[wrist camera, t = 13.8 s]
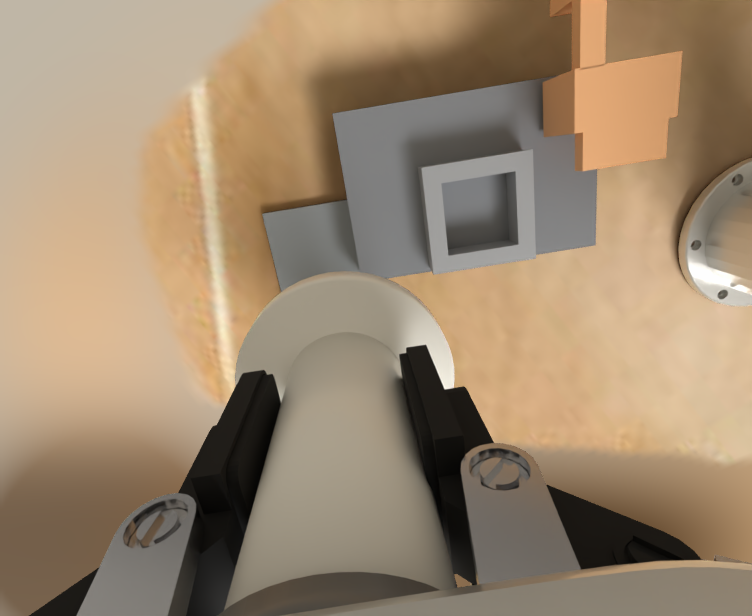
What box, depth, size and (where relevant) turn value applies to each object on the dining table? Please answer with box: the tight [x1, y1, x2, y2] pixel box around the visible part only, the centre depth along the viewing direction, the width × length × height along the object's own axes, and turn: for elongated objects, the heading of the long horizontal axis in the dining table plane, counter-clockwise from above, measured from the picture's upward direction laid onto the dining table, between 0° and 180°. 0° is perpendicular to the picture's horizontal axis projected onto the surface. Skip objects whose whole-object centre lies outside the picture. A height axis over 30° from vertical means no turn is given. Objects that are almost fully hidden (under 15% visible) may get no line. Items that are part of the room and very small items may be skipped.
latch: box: [543, 0, 683, 171], centre depth 25 cm, size 6×11×5 cm, turn 9°
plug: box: [217, 271, 457, 616], centre depth 10 cm, size 6×6×12 cm
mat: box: [262, 200, 360, 292], centre depth 35 cm, size 8×8×1 cm
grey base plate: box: [332, 75, 597, 278], centre depth 31 cm, size 18×12×6 cm, turn 99°
